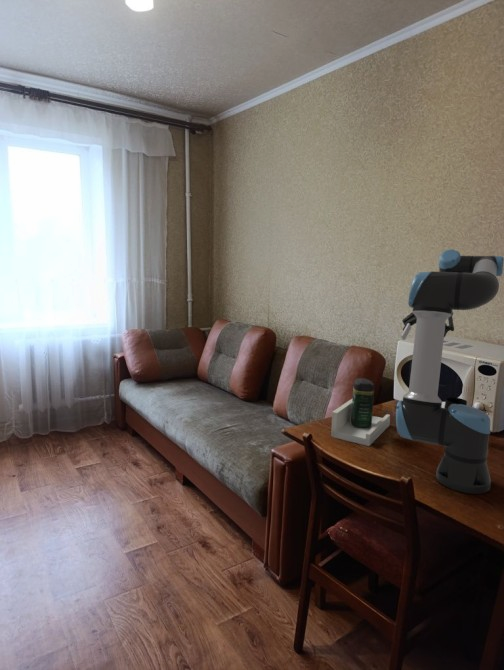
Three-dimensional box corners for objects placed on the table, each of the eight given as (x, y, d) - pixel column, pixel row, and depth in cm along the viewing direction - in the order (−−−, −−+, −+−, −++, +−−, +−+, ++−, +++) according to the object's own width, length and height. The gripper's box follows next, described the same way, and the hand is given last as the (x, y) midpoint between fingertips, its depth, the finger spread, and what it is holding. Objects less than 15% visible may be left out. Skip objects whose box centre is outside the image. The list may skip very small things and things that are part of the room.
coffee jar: (373, 429, 168) (376, 383, 165) (352, 428, 169) (355, 382, 166) (369, 420, 178) (372, 377, 175) (349, 419, 179) (352, 376, 176)
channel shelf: (369, 446, 159) (370, 420, 157) (330, 436, 167) (332, 411, 165) (389, 425, 180) (391, 402, 179) (354, 417, 188) (356, 395, 187)
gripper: (474, 308, 167) (454, 351, 159) (414, 303, 185) (392, 341, 178) (470, 295, 163) (449, 338, 155) (408, 291, 181) (386, 330, 173)
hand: (419, 340), depth 166 cm, fingers open, 13 cm apart
